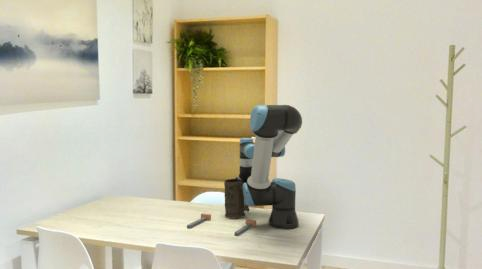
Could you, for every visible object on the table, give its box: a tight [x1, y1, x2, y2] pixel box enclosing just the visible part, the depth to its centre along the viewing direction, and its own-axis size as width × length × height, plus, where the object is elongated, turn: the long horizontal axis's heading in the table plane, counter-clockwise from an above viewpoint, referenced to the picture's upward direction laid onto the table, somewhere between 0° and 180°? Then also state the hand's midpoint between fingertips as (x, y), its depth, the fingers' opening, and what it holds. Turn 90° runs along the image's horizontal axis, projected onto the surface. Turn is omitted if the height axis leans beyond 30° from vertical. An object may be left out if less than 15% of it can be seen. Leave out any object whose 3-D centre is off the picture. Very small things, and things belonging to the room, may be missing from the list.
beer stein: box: [223, 178, 250, 219], centre depth 238 cm, size 15×11×20 cm
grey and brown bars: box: [186, 212, 257, 237], centre depth 221 cm, size 31×18×3 cm, turn 65°
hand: (246, 207), depth 248 cm, fingers closed
